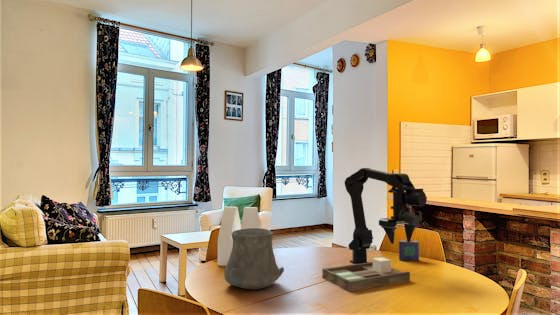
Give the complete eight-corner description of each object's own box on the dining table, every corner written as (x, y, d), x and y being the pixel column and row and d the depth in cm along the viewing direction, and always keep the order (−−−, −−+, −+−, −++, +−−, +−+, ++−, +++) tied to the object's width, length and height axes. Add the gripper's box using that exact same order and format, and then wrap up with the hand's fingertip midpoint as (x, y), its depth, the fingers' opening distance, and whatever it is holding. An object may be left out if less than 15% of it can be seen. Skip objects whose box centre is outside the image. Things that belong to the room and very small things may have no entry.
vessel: (277, 298, 122) (277, 238, 123) (214, 293, 127) (215, 235, 127) (289, 278, 144) (289, 227, 144) (235, 275, 148) (235, 225, 149)
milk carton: (231, 255, 182) (231, 204, 182) (261, 256, 179) (261, 205, 180) (217, 265, 163) (217, 209, 163) (251, 267, 160) (251, 209, 161)
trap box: (322, 277, 145) (322, 268, 145) (378, 269, 157) (378, 261, 157) (349, 291, 129) (349, 281, 129) (409, 281, 141) (409, 272, 141)
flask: (418, 259, 173) (418, 237, 174) (420, 261, 170) (420, 238, 171) (398, 259, 174) (398, 236, 174) (400, 261, 171) (399, 238, 171)
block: (372, 269, 148) (372, 258, 148) (382, 268, 150) (382, 257, 150) (380, 273, 143) (380, 261, 143) (390, 271, 145) (390, 260, 145)
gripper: (398, 207, 139) (399, 248, 138) (432, 204, 148) (432, 243, 147) (377, 204, 149) (378, 243, 148) (410, 202, 157) (410, 239, 157)
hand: (400, 242), depth 150 cm, fingers open, 9 cm apart
